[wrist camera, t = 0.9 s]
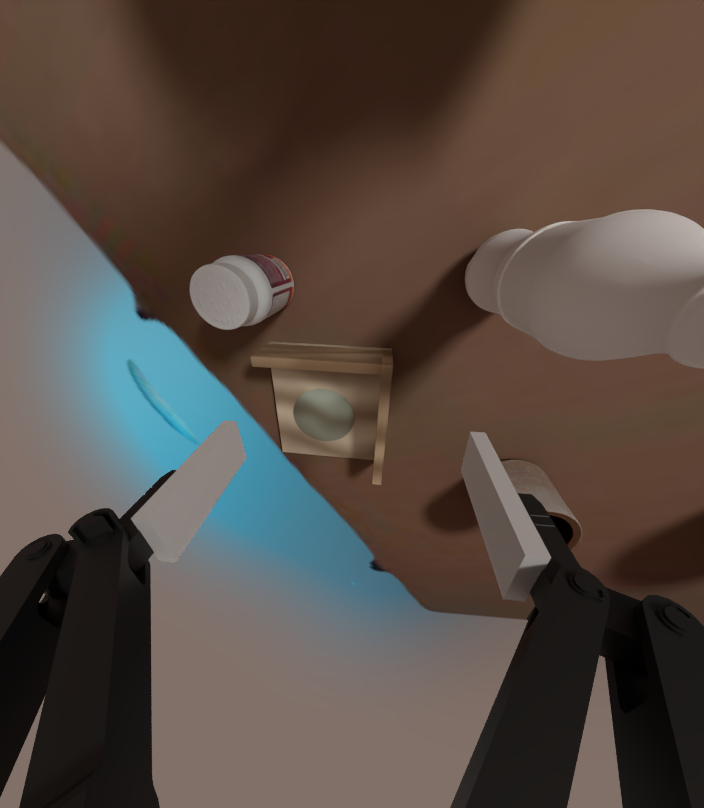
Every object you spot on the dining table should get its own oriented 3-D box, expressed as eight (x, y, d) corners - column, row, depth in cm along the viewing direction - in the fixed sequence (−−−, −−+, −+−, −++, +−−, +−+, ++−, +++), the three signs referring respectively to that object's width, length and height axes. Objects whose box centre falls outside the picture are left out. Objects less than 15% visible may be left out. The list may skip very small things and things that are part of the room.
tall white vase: (469, 317, 31) (657, 469, 10) (451, 254, 28) (658, 266, 7) (537, 288, 29) (986, 399, 7) (525, 216, 26) (1201, 47, 4)
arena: (269, 341, 35) (250, 356, 30) (392, 348, 34) (393, 365, 29) (284, 448, 44) (271, 473, 39) (381, 457, 43) (380, 484, 38)
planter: (456, 491, 45) (472, 546, 36) (500, 446, 39) (530, 498, 31) (511, 514, 46) (538, 572, 38) (561, 474, 41) (605, 531, 32)
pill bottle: (240, 253, 30) (171, 254, 21) (293, 255, 30) (248, 256, 20) (249, 309, 34) (193, 333, 24) (297, 312, 33) (260, 338, 23)
